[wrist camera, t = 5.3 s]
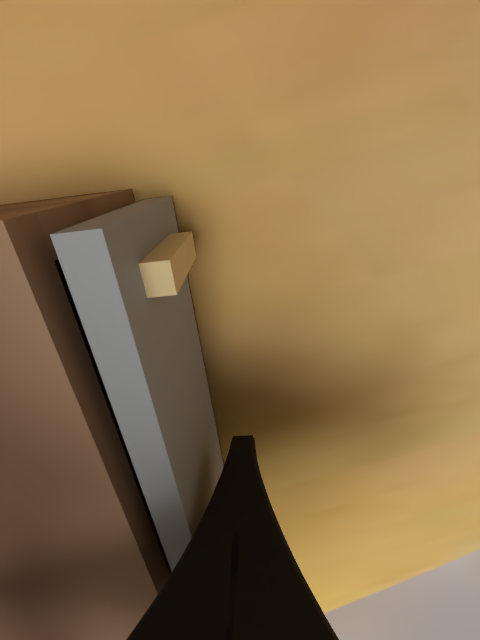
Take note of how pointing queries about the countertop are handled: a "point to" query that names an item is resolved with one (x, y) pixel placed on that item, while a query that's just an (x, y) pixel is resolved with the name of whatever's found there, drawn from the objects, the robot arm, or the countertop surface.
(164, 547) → the cabinet door
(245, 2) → the countertop surface
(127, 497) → the walnut cabinet
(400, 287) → the countertop surface
